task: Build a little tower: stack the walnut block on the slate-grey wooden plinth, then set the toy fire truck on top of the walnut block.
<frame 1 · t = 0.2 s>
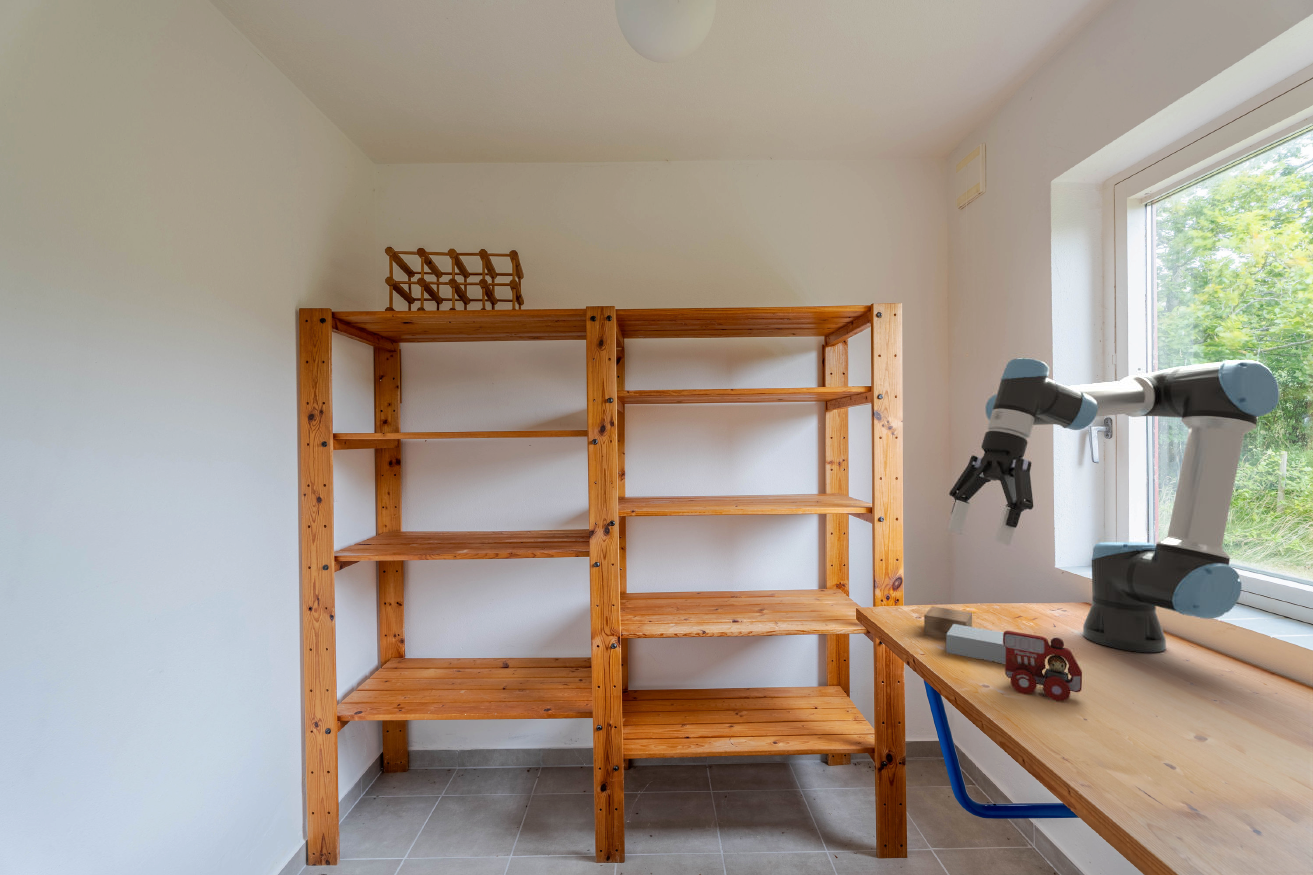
hand: (976, 537, 117), 27 cm above the table, tool tilted 20°, fingers open, 13 cm apart
walnut block: (948, 634, 143), on the table
plinth: (990, 654, 129), on the table
toy fire truck: (1041, 692, 110), on the table
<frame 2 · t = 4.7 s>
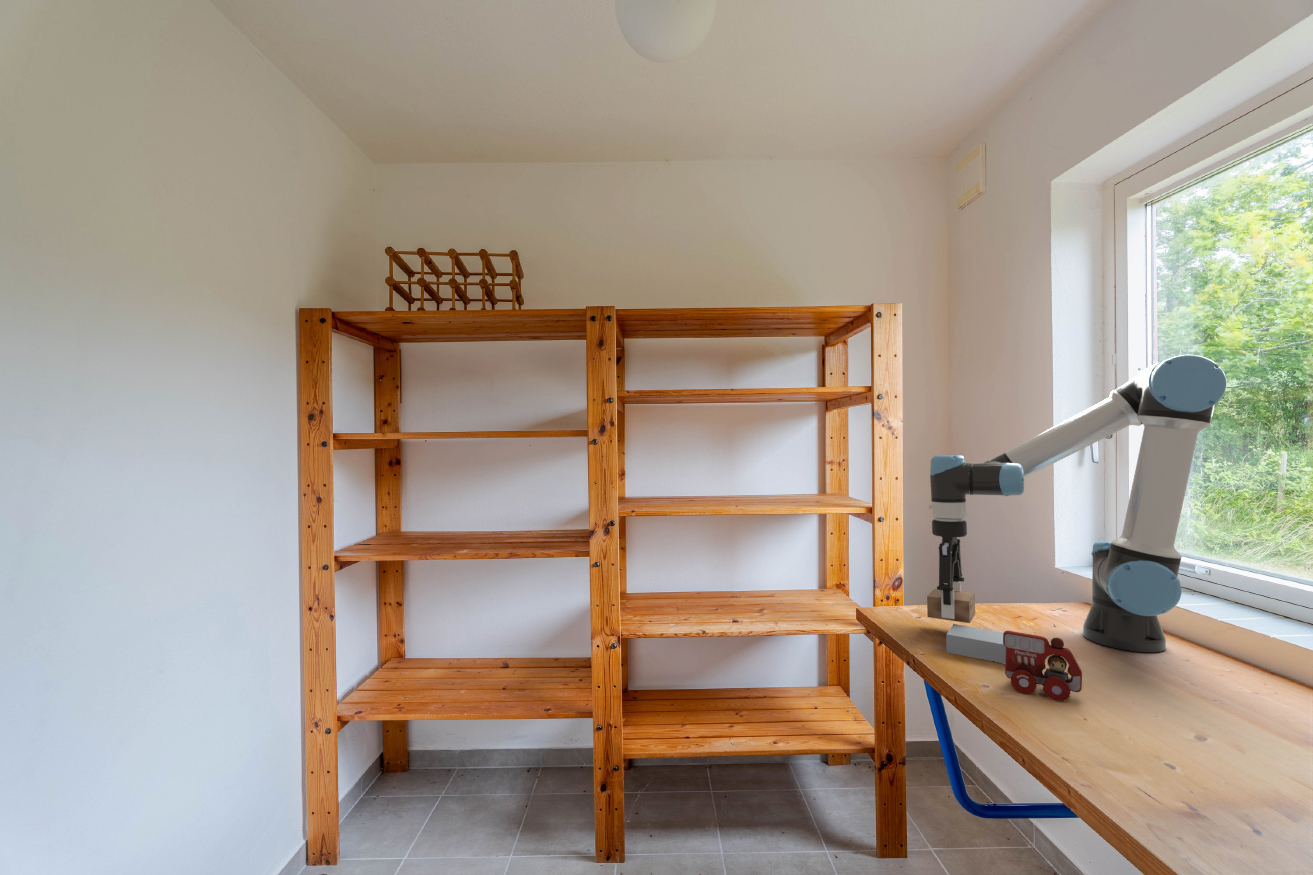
hand: (951, 612, 143), 5 cm above the table, tool pointing down, fingers closed on walnut block, 9 cm apart
walnut block: (951, 615, 143), point 4 cm above the table, touching gripper
everything else where it was.
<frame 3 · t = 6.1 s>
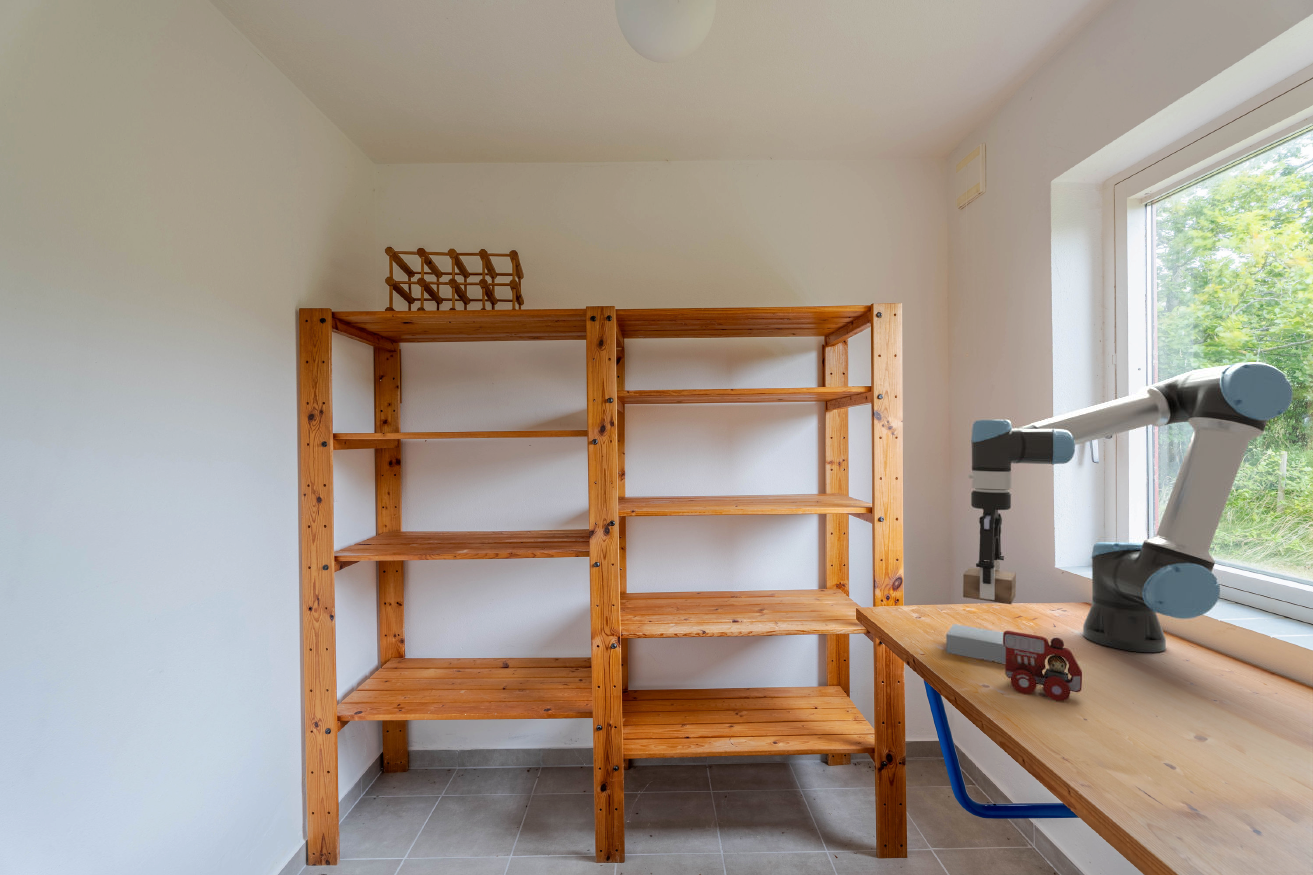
hand: (990, 593, 129), 13 cm above the table, tool pointing down, fingers closed on walnut block, 9 cm apart
walnut block: (989, 596, 129), point 13 cm above the table, touching gripper
everything else where it was.
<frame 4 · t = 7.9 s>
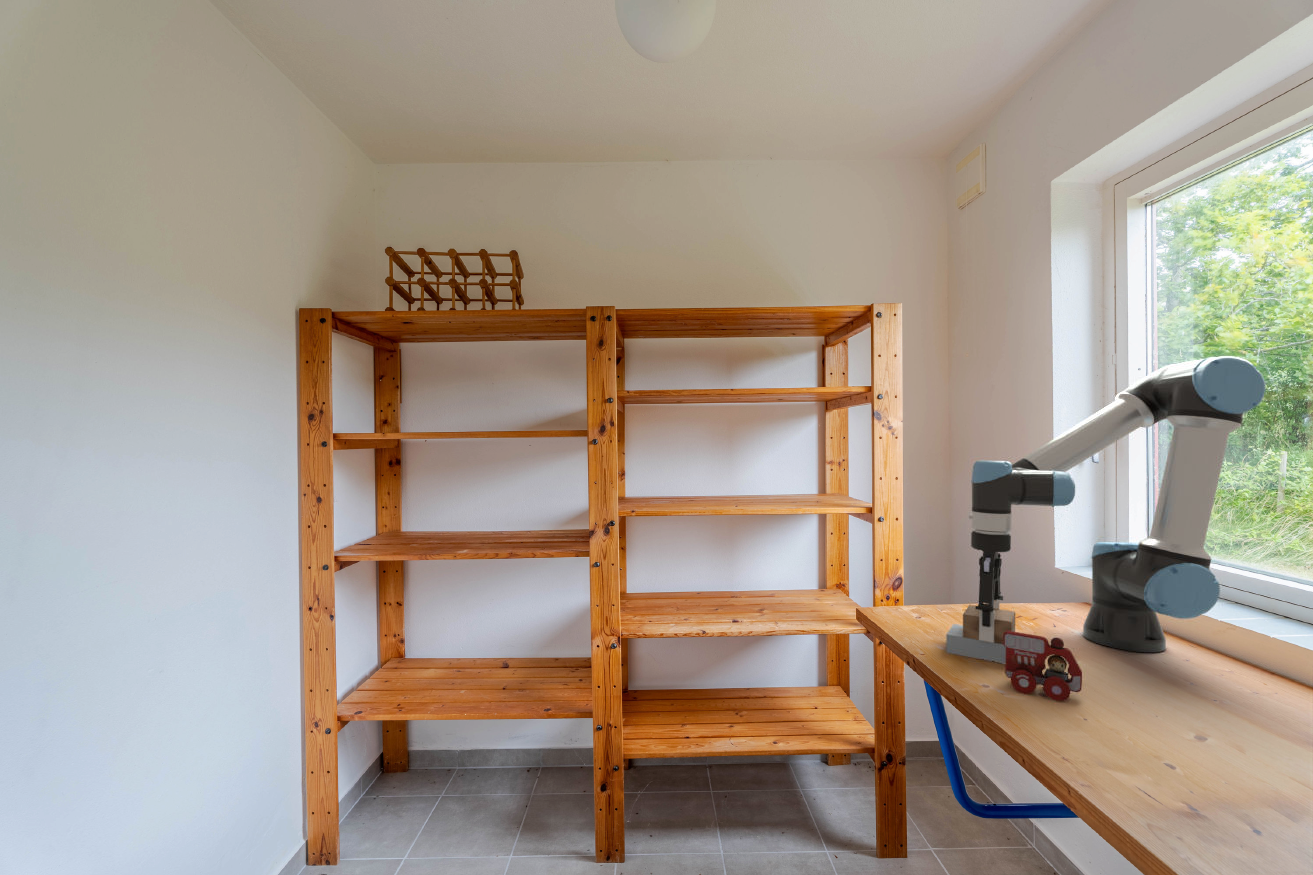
hand: (989, 634, 129), 4 cm above the table, tool pointing down, fingers closed on walnut block, 9 cm apart
walnut block: (989, 635, 129), point 4 cm above the table, touching gripper, plinth
everything else where it was.
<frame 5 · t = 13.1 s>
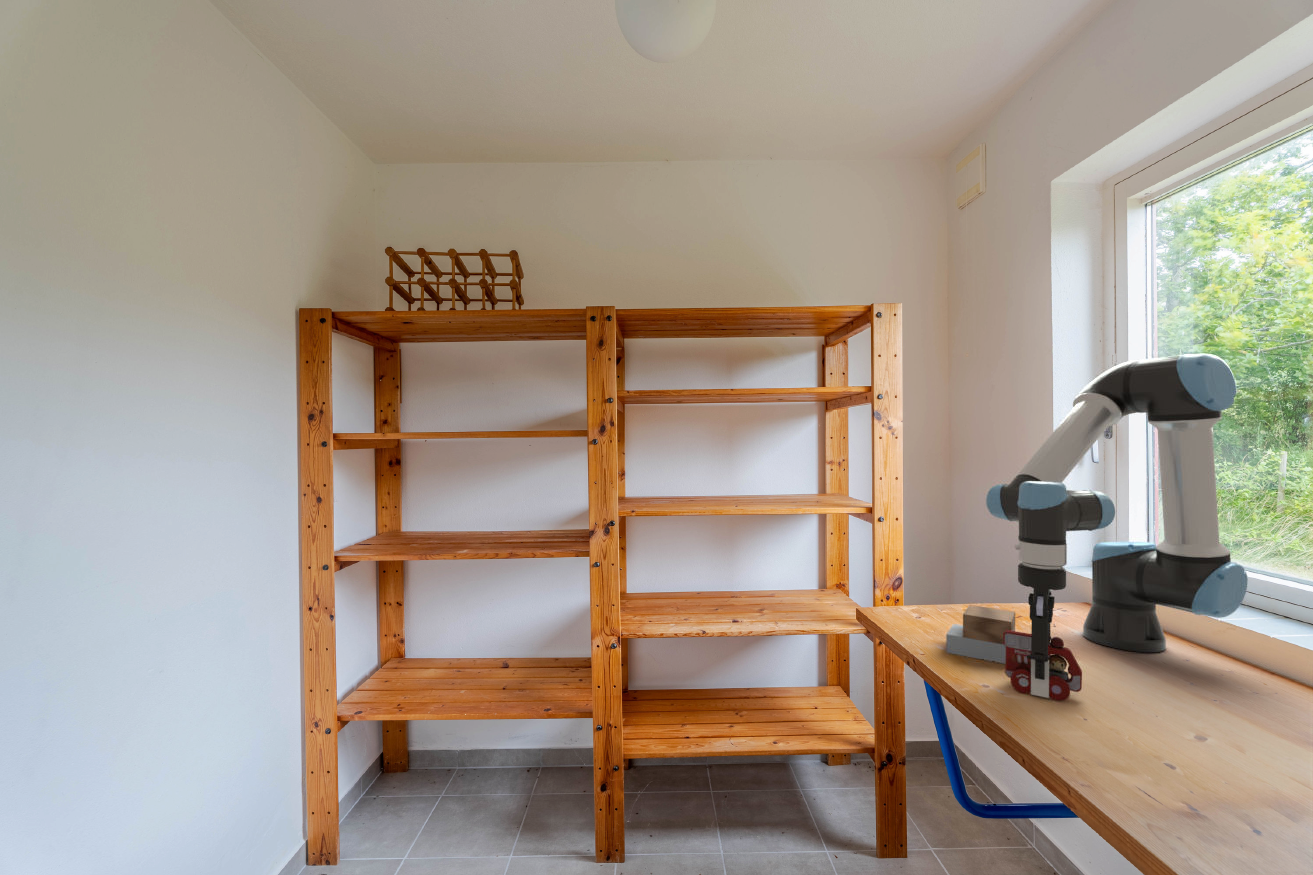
hand: (1041, 687, 110), 1 cm above the table, tool pointing down, fingers closed on toy fire truck, 7 cm apart
walnut block: (989, 635, 129), point 4 cm above the table, touching plinth
toy fire truck: (1041, 692, 110), on the table, touching gripper
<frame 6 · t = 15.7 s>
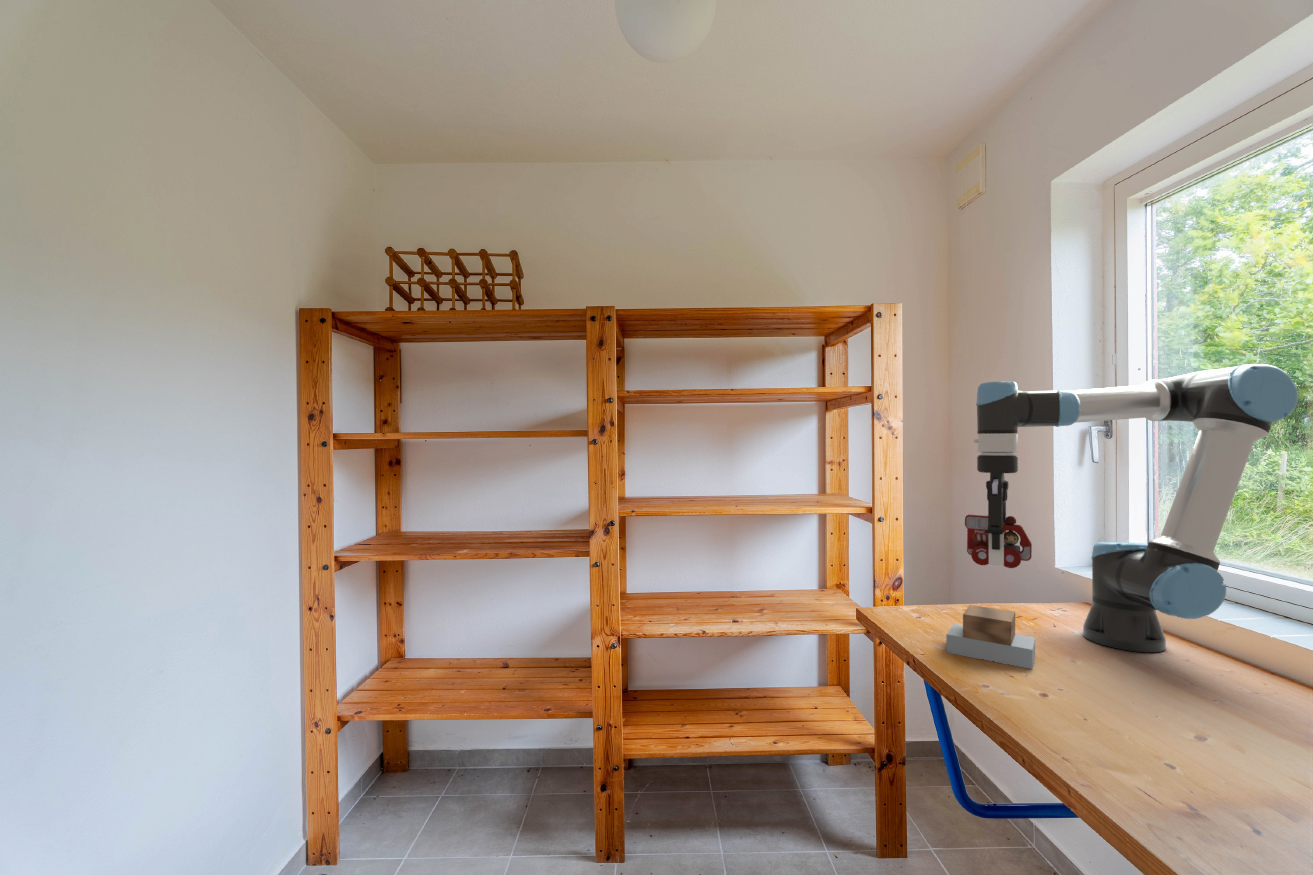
hand: (997, 561, 127), 21 cm above the table, tool pointing down, fingers closed on toy fire truck, 7 cm apart
toy fire truck: (997, 565, 127), point 20 cm above the table, touching gripper
everything else where it was.
when the fingers open (10 cm above the table, at t = 18.8 s): toy fire truck stays where it is, resting on walnut block.
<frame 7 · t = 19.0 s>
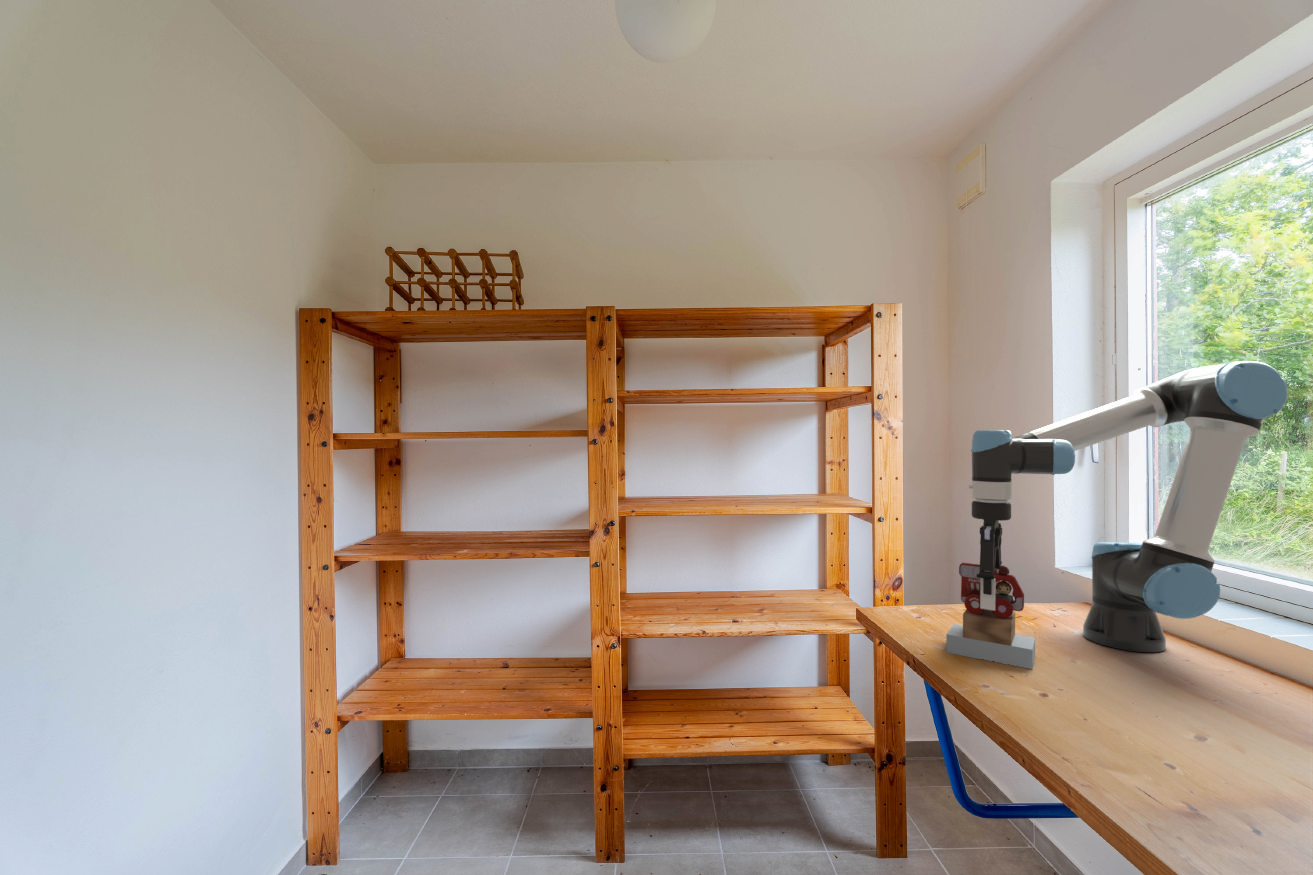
hand: (990, 603, 129), 11 cm above the table, tool pointing down, fingers open, 9 cm apart
walnut block: (989, 635, 129), point 4 cm above the table, touching plinth, toy fire truck
toy fire truck: (990, 613, 129), point 9 cm above the table, touching walnut block
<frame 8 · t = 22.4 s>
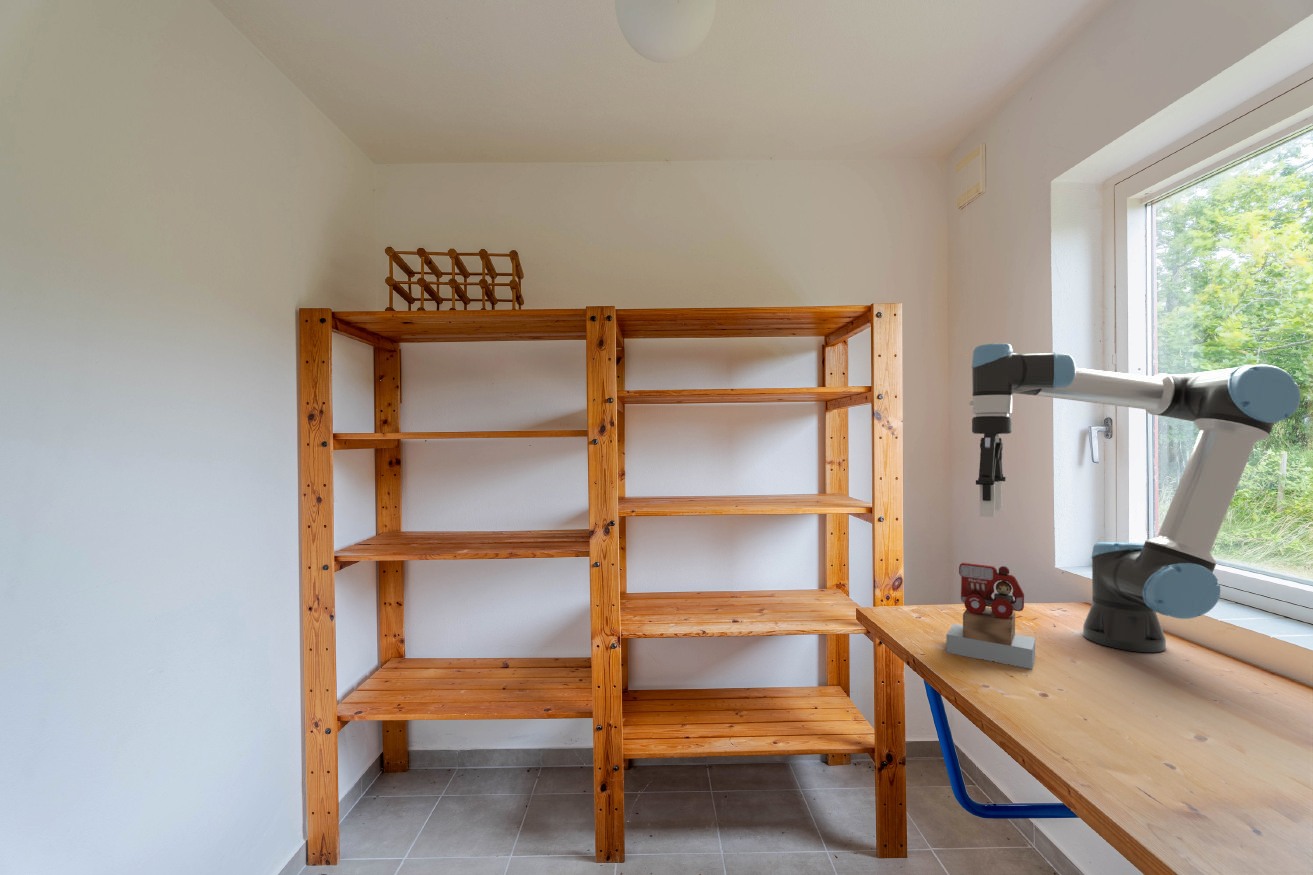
hand: (991, 513, 129), 31 cm above the table, tool pointing down, fingers open, 13 cm apart
nothing on the table moved.
at the end: walnut block inside the target area on the plinth (0.3 cm from its centre), point 4.0 cm above the plinth's base; toy fire truck 0.1 cm from the plinth (horizontally); toy fire truck point 8.8 cm above the table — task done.
